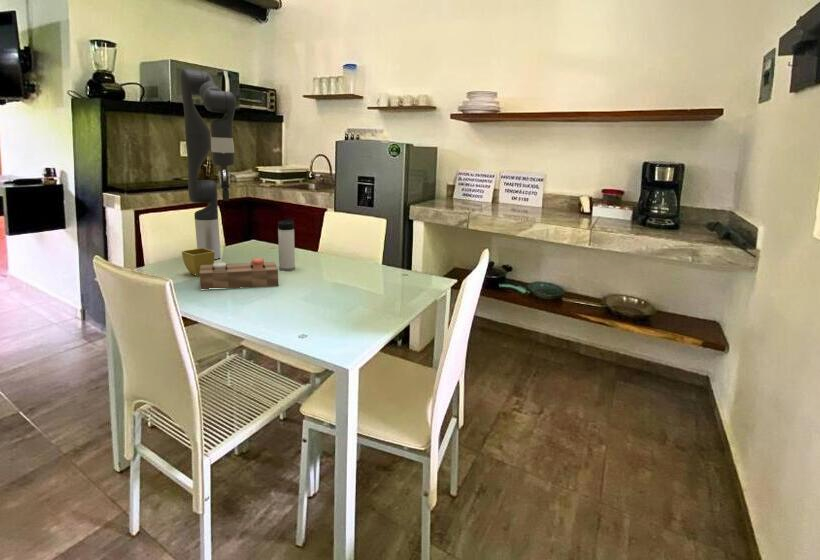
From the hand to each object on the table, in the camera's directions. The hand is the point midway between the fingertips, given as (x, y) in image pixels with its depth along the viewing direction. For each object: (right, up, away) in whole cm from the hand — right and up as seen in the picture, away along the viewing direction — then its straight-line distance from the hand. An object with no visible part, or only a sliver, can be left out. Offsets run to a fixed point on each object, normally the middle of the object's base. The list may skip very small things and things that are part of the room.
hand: (226, 200), depth 175 cm
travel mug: (+16, -25, +23) cm, 37 cm away
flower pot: (-14, -27, +10) cm, 32 cm away
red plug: (+11, -28, +3) cm, 30 cm away
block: (+5, -30, +1) cm, 31 cm away
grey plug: (-1, -30, -1) cm, 30 cm away
